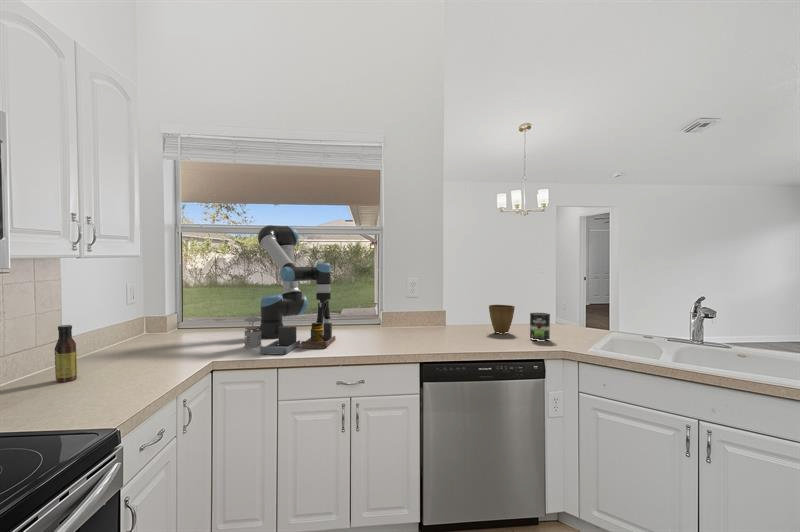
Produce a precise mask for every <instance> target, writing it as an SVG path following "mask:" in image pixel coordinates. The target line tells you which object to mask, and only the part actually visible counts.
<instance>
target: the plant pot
mask: <svg viewBox="0 0 800 532" xmlns="http://www.w3.org/2000/svg"><path fill="white" fill-rule="evenodd" d="M488 310H489V311H488V312H489V316H490V322H491V326H492V328H493V331H495V332H499V333H505V332H508V333H509V331H510V329H511V326H512V322H513V318H514V314H515V306H514V305H509V304H490V305H488ZM495 332H494V333H495Z"/></svg>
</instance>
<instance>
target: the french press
mask: <svg viewBox="0 0 800 532" xmlns="http://www.w3.org/2000/svg"><path fill="white" fill-rule="evenodd" d="M255 299H256V298H255V296H251V297H250V300H252V301H254V300H255ZM244 322H248V326H247V327H245V331H244V345H243V346H242V349H244V348H250V349H249V350H252V349H251V348H256V349H260V347H261V346H263V345H262V338H261V336H260V335H261V330H259V329H260V326H254V324H255V322H261V317H258V316H254V315H251V316H249V317H248V316H247V318H245V319H244ZM250 325H251V326H250Z"/></svg>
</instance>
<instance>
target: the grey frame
mask: <svg viewBox="0 0 800 532" xmlns="http://www.w3.org/2000/svg"><path fill="white" fill-rule="evenodd" d="M278 332H279V338H278V339H277V340H275V341H273V342H271V343H269V344H267V345H266V346H264V345H262V346H261V347H260V348H259V354H260V355H261V354H262V355H264V354H265V355H287V354H289V353H290V352H291V351H293V350H295V349H296V348H298V347H299V346H300V345H301V340H297V326H286V325H283V326H281V327H279V328H278Z"/></svg>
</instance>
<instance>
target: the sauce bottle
mask: <svg viewBox="0 0 800 532" xmlns="http://www.w3.org/2000/svg"><path fill="white" fill-rule="evenodd" d="M57 331H58V339H57V342H56V344H55V347H54V367H55V380H56V382H57V383H65V382H66V383H69V382H72V381H75V380H76V379H77V378H78V354H77V353H78V351H77V350H78V349H77V343H76V341H75V340H74V339H73V334H72V331H73V325H72V324H61V325H58V326H57Z"/></svg>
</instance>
